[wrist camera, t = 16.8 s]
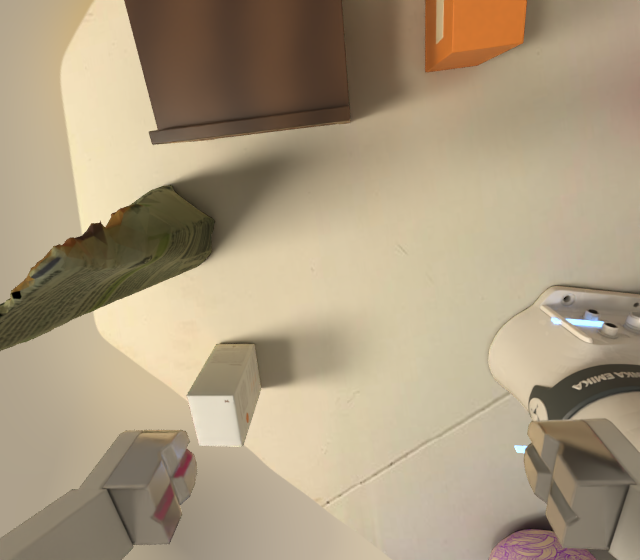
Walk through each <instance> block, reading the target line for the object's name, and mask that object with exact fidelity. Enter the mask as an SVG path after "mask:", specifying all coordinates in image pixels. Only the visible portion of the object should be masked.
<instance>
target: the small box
mask: <svg viewBox="0 0 640 560" xmlns="http://www.w3.org/2000/svg"><path fill="white" fill-rule="evenodd" d="M260 391H261V384H260V377H259V371H258V364H257V357H256V350H255V344H216V346H215V347H214V349H213V351H212V352H211V354H210V356H209V358H208V359H207V361H206V363H205V365H204V366H203V368H202V370H201V371H200V373H199V375H198V377H197V378H196V380H195V382H194V383H193V385H192V387H191V389H190V390H189V392H188V394H187V400H188V404H189V408H190V411H191V415H192V419H193V423H194V427H195V431H196V435H197V439H198V443H199V445H200V446H232V447H235V446H236V447H242V446H243V445H244V442H245V439H246V435H247V432H248V429H249V426H250V423H251V420H252V417H253V413H254V410H255V407H256V404H257V401H258V398H259V395H260Z"/></svg>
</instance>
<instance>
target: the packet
mask: <svg viewBox="0 0 640 560" xmlns="http://www.w3.org/2000/svg"><path fill="white" fill-rule="evenodd" d="M526 6H527V0H426V8H425V72H433V71H440V70H448V69H455V68H463V67H470V66H477V65H479V64H481V63H483V62H486V61H488V60H490V59H492V58H494V57H496V56H498V55H500V54H502V53H504V52H506V51H508V50H510V49H512V48H514V47H516V46H518V45H520V44H522V43H523V40H524V29H525V18H526Z"/></svg>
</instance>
